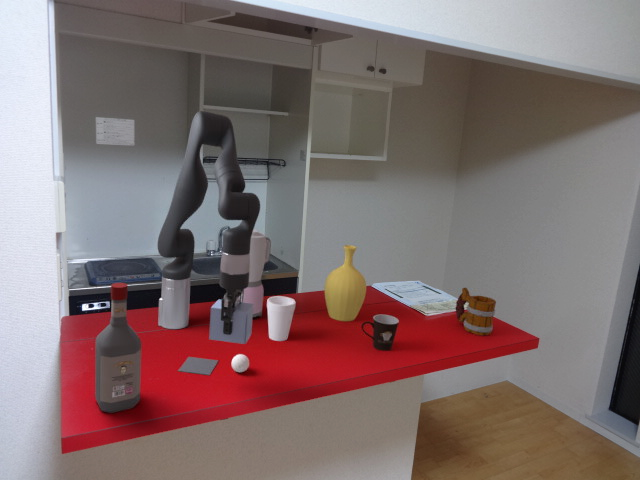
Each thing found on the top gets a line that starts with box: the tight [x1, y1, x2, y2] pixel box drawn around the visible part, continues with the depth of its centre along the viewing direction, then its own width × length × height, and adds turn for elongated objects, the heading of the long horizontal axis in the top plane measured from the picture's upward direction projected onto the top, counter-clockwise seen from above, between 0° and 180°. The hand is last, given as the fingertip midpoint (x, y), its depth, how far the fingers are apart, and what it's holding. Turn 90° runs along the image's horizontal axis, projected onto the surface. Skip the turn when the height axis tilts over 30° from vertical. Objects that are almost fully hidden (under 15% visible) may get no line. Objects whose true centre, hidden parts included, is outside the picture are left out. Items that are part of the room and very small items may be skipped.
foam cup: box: [266, 295, 296, 342], centre depth 168 cm, size 10×9×13 cm
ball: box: [231, 353, 250, 373], centre depth 143 cm, size 5×5×5 cm
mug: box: [455, 287, 497, 336], centre depth 194 cm, size 11×16×15 cm, turn 41°
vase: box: [324, 244, 367, 322], centre depth 192 cm, size 16×16×28 cm
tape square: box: [177, 356, 219, 376], centre depth 144 cm, size 9×9×1 cm
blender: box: [243, 229, 272, 318], centre depth 184 cm, size 16×12×32 cm
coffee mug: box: [361, 314, 400, 352], centre depth 170 cm, size 12×9×10 cm
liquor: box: [94, 282, 142, 414], centre depth 119 cm, size 9×9×30 cm
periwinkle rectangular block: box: [208, 298, 254, 345], centre depth 133 cm, size 10×7×9 cm
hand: (231, 328), depth 133 cm, fingers closed on periwinkle rectangular block, 6 cm apart
